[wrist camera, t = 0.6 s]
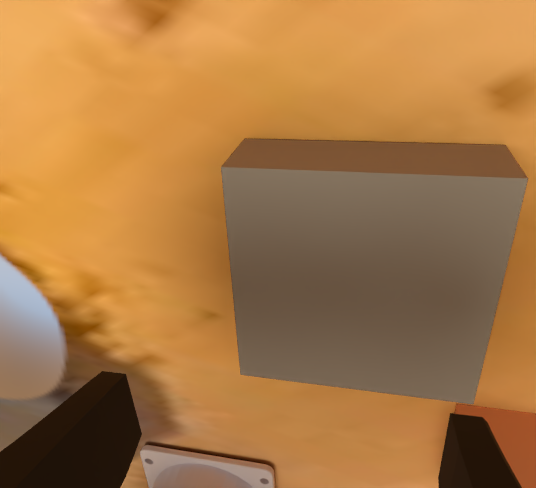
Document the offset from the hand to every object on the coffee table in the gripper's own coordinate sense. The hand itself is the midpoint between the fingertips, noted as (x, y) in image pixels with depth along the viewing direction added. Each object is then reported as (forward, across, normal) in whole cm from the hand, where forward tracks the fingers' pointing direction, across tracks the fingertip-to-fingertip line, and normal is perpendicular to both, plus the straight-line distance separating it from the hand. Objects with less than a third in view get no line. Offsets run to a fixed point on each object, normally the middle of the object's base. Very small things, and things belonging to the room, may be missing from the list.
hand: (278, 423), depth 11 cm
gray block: (+10, -2, +1) cm, 10 cm away
